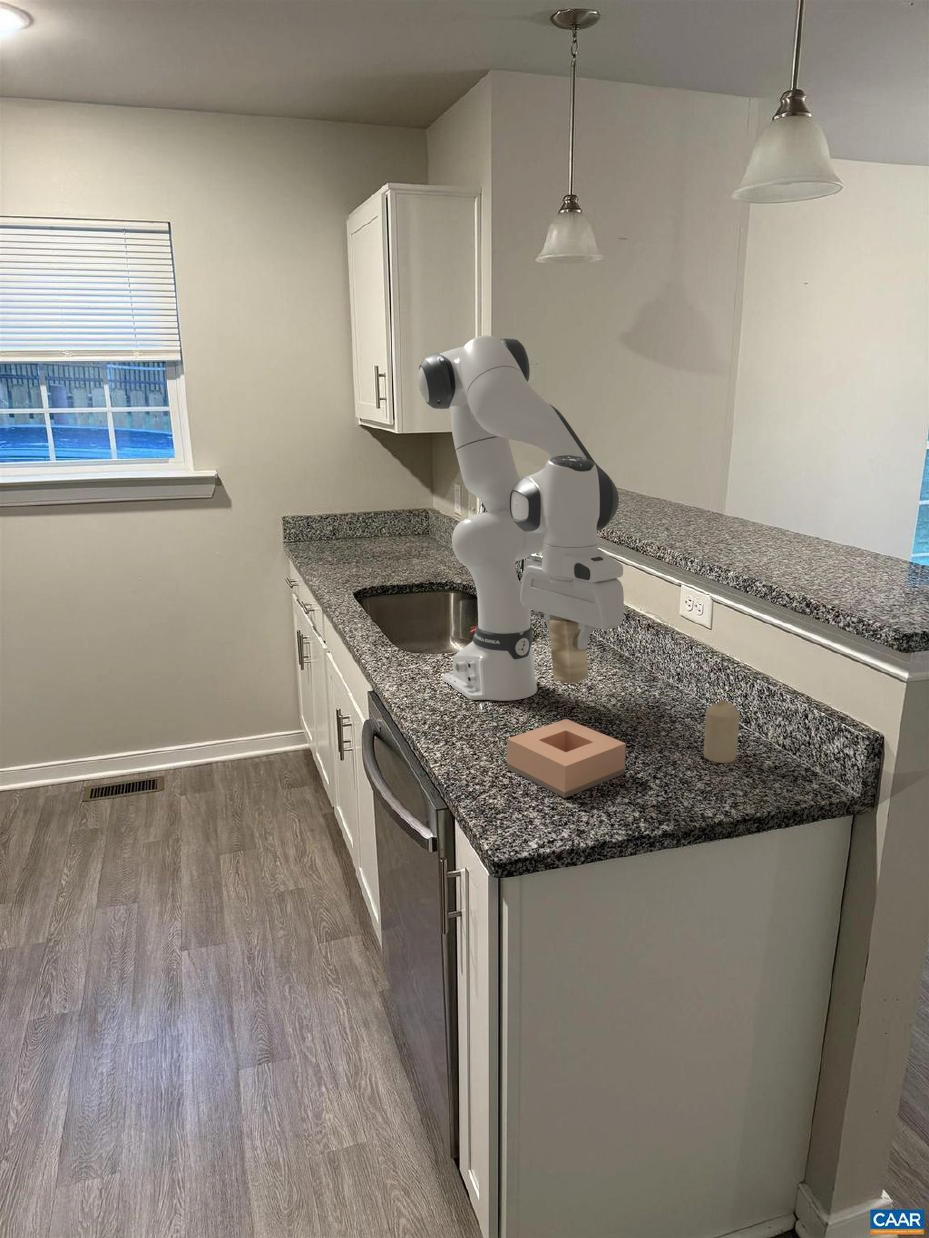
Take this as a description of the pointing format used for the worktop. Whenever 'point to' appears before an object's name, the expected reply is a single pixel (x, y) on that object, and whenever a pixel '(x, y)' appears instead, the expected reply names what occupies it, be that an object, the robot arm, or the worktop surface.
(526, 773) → the well block
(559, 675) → the peg
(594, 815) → the worktop surface
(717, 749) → the candle
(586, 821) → the worktop surface
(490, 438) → the robot arm
